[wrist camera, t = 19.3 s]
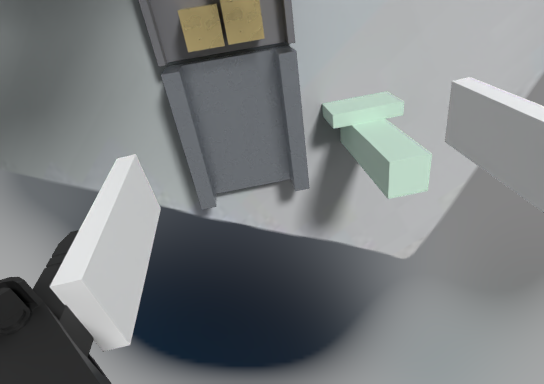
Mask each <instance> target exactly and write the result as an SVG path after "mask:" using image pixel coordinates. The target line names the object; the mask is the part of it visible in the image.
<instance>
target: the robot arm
mask: <svg viewBox="0 0 544 384" xmlns="http://www.w3.org/2000/svg"><path fill="white" fill-rule="evenodd" d="M445 142H446V143H447V144H449V145H450V146H451V147H453V148H454V149H456V150H457V151H458V152H460V153H461V154H462V155H464V156H465V157H467V158H468V159H469V160H471V161H472V162H474V163H475V164H476V165H478V166H479V167H481V168H482V169H483V170H485V171H486V172H488V173H489V174H490V175H492V176H493V177H494V178H496V179H497V180H499V181H500V182H501V183H503V184H504V185H506V186H507V187H508V188H510V189H511V190H513V191H514V192H515V193H517V194H518V195H520V196H521V197H522V198H524V199H525V200H527V201H528V202H529V203H531V204H532V205H534V206H535V207H536V208H538V209H539V210H540V211H542V212H543V213H544V106H542V105H539V104H537V103H534V102H532V101H529V100H527V99H524V98H522V97H519V96H516V95H514V94H511V93H509V92H506V91H504V90H501V89H499V88H496V87H494V86H491V85H489V84H486V83H484V82H481V81H479V80H476V79H474V78H471V77H468V78H464V79H459V80H455V81H452V85H451V94H450V102H449V110H448V119H447V127H446V136H445ZM160 209H161V208H160V206H159V204H158V201H157V199H156V197H155V195H154V193H153V191H152V188H151V186H150V184H149V182H148V180H147V178H146V175H145V173H144V171H143V169H142V167H141V165H140V162H139V160H138V158H137V156H136V154H134V155H130V156H126V157H121V158H117V159H116V161H115V163H114V165H113V167H112V169H111V171H110V172H109V174H108V176H107V178H106V180H105V182H104V184H103V186H102V188H101V190H100V192H99V194H98V195H97V197H96V199H95V201H94V203H93V205H92V207H91V209H90V211H89V213H88V215H87V217H86V218H85V220H84V222H83V224H82V226H81V228H80V230H77V231H73V232H70V234H69V235H67V236H66V237H65V238H64V239H63V240H62V241H61V242H60V243H59V244H58V246H57V248H56V250H55V251H54V253H53V255H52V258H51V259H50V260H49V262H48V264H47V265H46V267H47V268H45V269H44V270H43V272H42V274H41V276H40V278H39V279H38V281H37V283H36V284H35V286H34V288H33V290H32V288H31V287H30V286H29V285H28V284H27V283H26V282H25V280H23V279H21V278H20V277H9V278H6V279H2V280H0V384H111V382H110V381H109V379H108V378H107V377H106V375H105V374H104V373H103V371H102V370H101V369H100V367H99V366H98V364H97V363H96V362H95V360H94V359H93V358H92V357H91V356H90V354H89V352H90V348H91V345H92V342H93V340H94V341H95V342H96V344H97V345H98V346H99V347H100V348H101V349H102V351H103V352H104V351H108V350H112V349H116V348H120V347H124V346H128V345H130V343H131V339H132V334H133V330H134V325H135V321H136V317H137V312H138V308H139V303H140V298H141V294H142V290H143V285H144V281H145V276H146V272H147V267H148V262H149V258H150V254H151V250H152V245H153V241H154V236H155V232H156V227H157V223H158V217H159V214H160Z"/></svg>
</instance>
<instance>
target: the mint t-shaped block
mask: <svg viewBox="0 0 544 384" xmlns="http://www.w3.org/2000/svg"><path fill="white" fill-rule="evenodd" d="M322 110H323V117H324V118H325V119H326V121H327V122H328V123H329V124H330V125H331V126H332V127H333V129H335V128H340V135H341V143H342V144H343V145H344V146H345V148H346V149H347V150H348V151H349V152H350V154H351V155H352V156H353V157H354V159H355V160H356V161H357V162H358V163H359V165H360V166H361V167H362V168H363V169H364V171H365V172H366V173H367V174H368V175H369V177H370V178H371V179H372V180H373V181H374V183H375V184H376V185H377V186H378V187H379V189H380V190H381V191H382V192H383V193H384V195H385V196H386V197H387V198H388V199H391V198H395V197H400V196H405V195H410V194H415V193H420V192H425V191H428V185H429V176H430V167H431V159H432V153H430V152H429V151H428V150H426V149H425V148H424V147H422V146H421V145H420V144H418V143H417V142H416V141H414V140H413V139H412V138H410V137H409V136H408V135H406V134H405V133H404V132H402V131H401V130H400V129H398V128H397V127H396V126H394V125H393V124H392V123H390V122H389V121H388V120H386V118H391V117H396V116H402V115H403V110H404V101H402V100H401V99H399V98H397V97H396V96H394V95H392V94H390V93H389V92H387V91H386V92H381V93H376V94H371V95H365V96H360V97H355V98H350V99H344V100H339V101H334V102H329V103H323V104H322Z"/></svg>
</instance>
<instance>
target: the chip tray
mask: <svg viewBox="0 0 544 384" xmlns="http://www.w3.org/2000/svg"><path fill="white" fill-rule="evenodd" d="M138 1H139V4H140V7H141V10H142V14H143V17H144V20H145V24H146V27H147V30H148V33H149V37H150V40H151V43H152V47H153V50H154V53H155V56H156V60H157V63H158V66H165V65H166V64H167V63H168V62H173V61H179V60H184V59H190V58H196V57H202V56H207V55H213V54H219V53H225V52H230V51H236V50H242V49H247V48H253V47H259V46H265V45H270V44H276V43H282V42H287V43H288V44H291V43H295V34H294V24H293V14H292V3H291V0H259V1H260V8H261V15H262V22H263V30H264V37H265V39H259V40H254V41H248V42H242V43H236V44H230V45H228V41H227V35H226V30H225V25H224V20H223V15H222V9H221V4H220V0H138ZM214 3H217V8H218V13H219V18H220V23H221V28H222V33H223V38H224V44H225V46H222V47H216V48H210V49H204V50H199V51H193V52H188V50H187V46H186V42H185V38H184V34H183V30H182V26H181V22H180V18H179V14H178V10H180V9H184V8H190V7H196V6H202V5H208V4H214Z"/></svg>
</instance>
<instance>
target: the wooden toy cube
mask: <svg viewBox="0 0 544 384" xmlns="http://www.w3.org/2000/svg"><path fill="white" fill-rule="evenodd" d="M178 14H179V18H180V22H181V26H182V30H183V34H184V38H185V42H186V46H187V50H188V52H193V51H199V50H204V49H210V48H216V47H222V46H225V44H224V38H223V33H222V28H221V23H220V18H219V13H218V8H217V3H214V4H208V5H202V6H196V7H190V8H184V9H180V10H178Z"/></svg>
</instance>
